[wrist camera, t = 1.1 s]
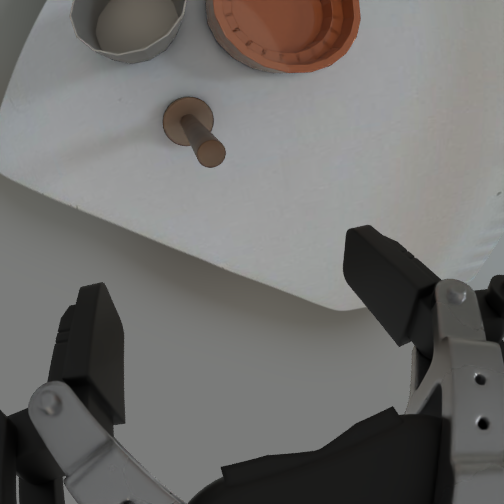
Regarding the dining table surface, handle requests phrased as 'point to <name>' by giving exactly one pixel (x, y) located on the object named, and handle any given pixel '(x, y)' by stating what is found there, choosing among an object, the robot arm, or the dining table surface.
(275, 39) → the bowl
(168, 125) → the upright rod on disc
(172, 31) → the cup
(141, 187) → the dining table surface
